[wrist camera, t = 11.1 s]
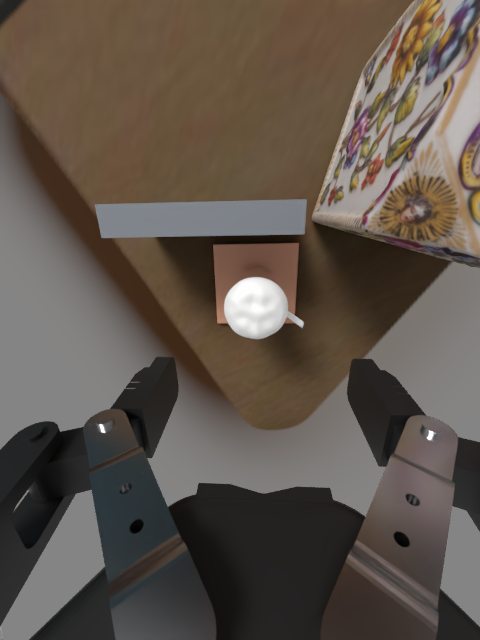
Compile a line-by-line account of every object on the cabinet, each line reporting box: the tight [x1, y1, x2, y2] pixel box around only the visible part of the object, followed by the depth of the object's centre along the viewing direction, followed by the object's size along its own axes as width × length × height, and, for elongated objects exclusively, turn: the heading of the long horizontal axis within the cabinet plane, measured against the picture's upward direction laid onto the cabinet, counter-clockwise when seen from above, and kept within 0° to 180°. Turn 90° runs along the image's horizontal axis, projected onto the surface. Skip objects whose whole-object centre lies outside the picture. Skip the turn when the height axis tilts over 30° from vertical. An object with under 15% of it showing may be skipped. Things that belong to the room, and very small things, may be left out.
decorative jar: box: [312, 0, 480, 268], centre depth 15 cm, size 12×12×18 cm
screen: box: [95, 199, 307, 238], centre depth 21 cm, size 13×2×9 cm, turn 91°
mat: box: [213, 243, 299, 323], centre depth 27 cm, size 8×8×1 cm
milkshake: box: [224, 266, 304, 339], centre depth 22 cm, size 4×5×10 cm
